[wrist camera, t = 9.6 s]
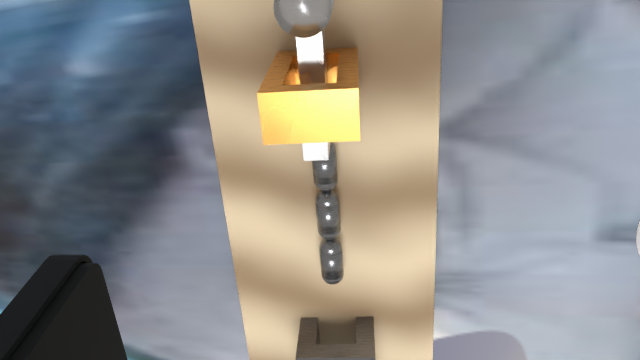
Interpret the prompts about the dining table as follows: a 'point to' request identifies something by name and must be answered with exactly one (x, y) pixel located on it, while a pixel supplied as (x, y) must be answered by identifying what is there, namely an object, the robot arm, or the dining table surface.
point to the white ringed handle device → (638, 238)
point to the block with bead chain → (315, 132)
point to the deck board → (353, 177)
